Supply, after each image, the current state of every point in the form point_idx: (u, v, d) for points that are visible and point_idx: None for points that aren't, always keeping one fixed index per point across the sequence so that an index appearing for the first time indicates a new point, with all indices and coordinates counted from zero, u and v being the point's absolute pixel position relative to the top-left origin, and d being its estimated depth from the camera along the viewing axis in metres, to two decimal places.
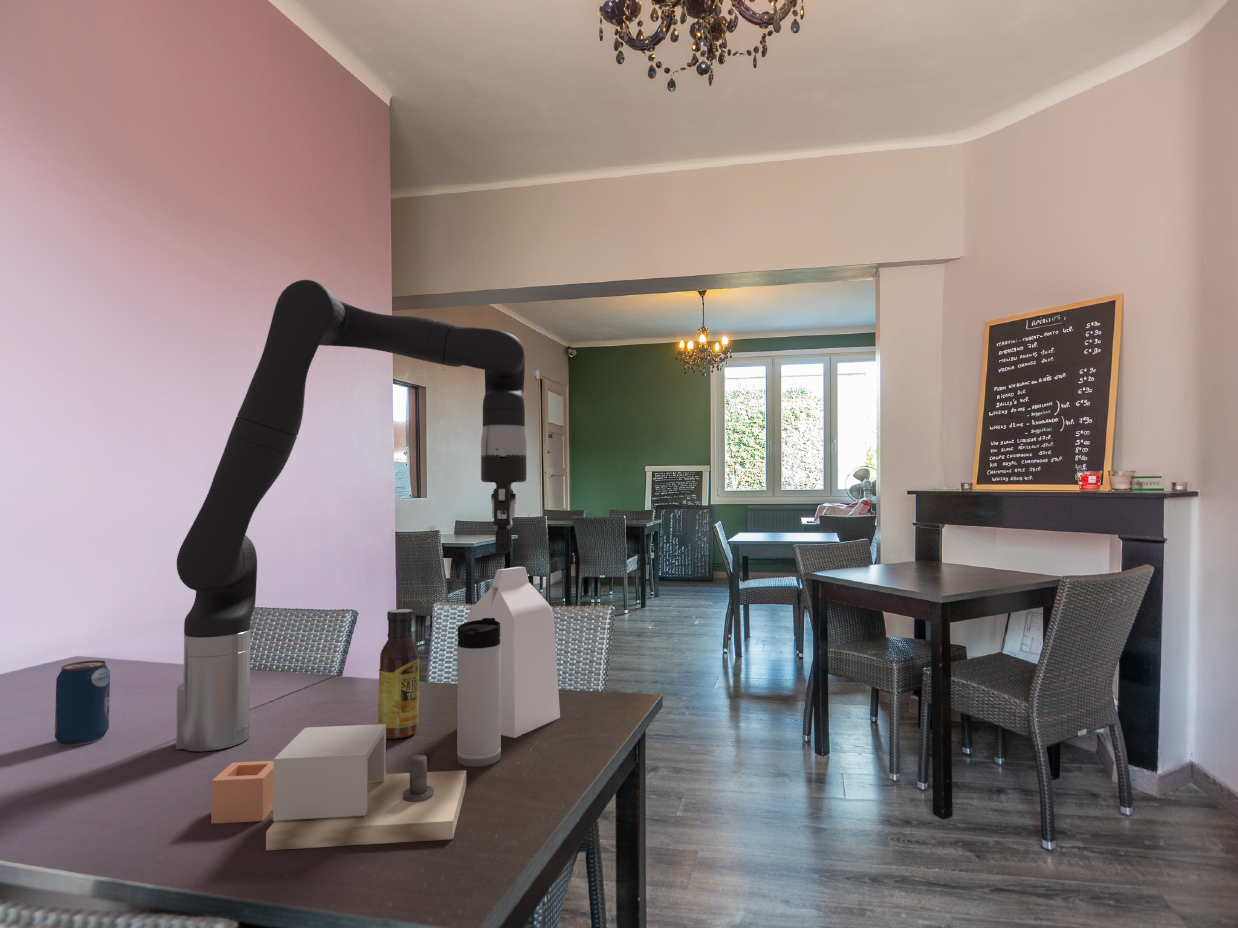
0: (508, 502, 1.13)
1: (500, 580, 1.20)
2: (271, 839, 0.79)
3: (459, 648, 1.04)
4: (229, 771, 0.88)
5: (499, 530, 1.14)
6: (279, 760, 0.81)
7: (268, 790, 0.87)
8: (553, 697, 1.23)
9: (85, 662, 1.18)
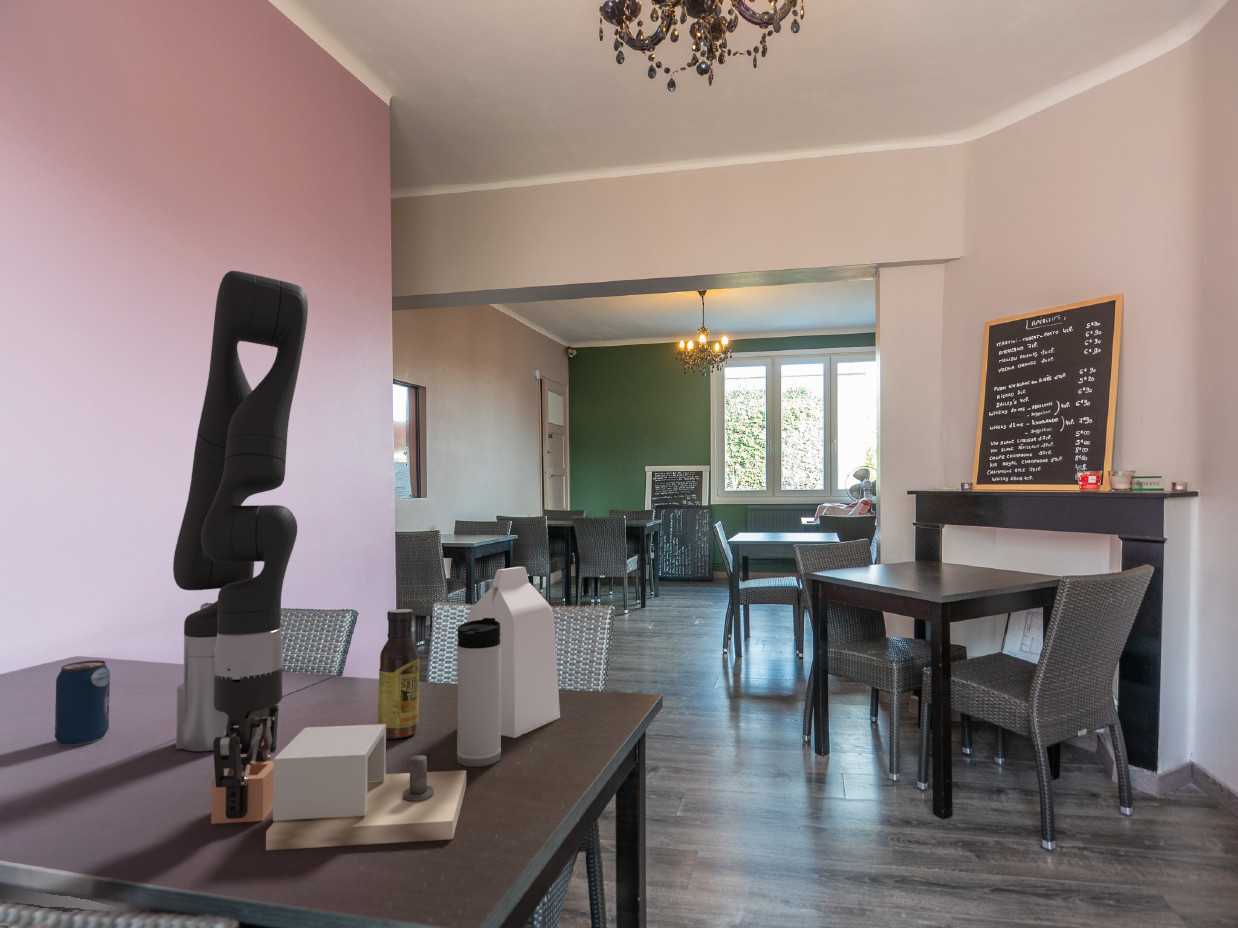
0: (235, 757, 0.82)
1: (500, 580, 1.20)
2: (271, 839, 0.79)
3: (459, 648, 1.04)
4: None
5: (229, 789, 0.84)
6: (279, 760, 0.81)
7: (268, 790, 0.87)
8: (553, 697, 1.23)
9: (85, 662, 1.18)
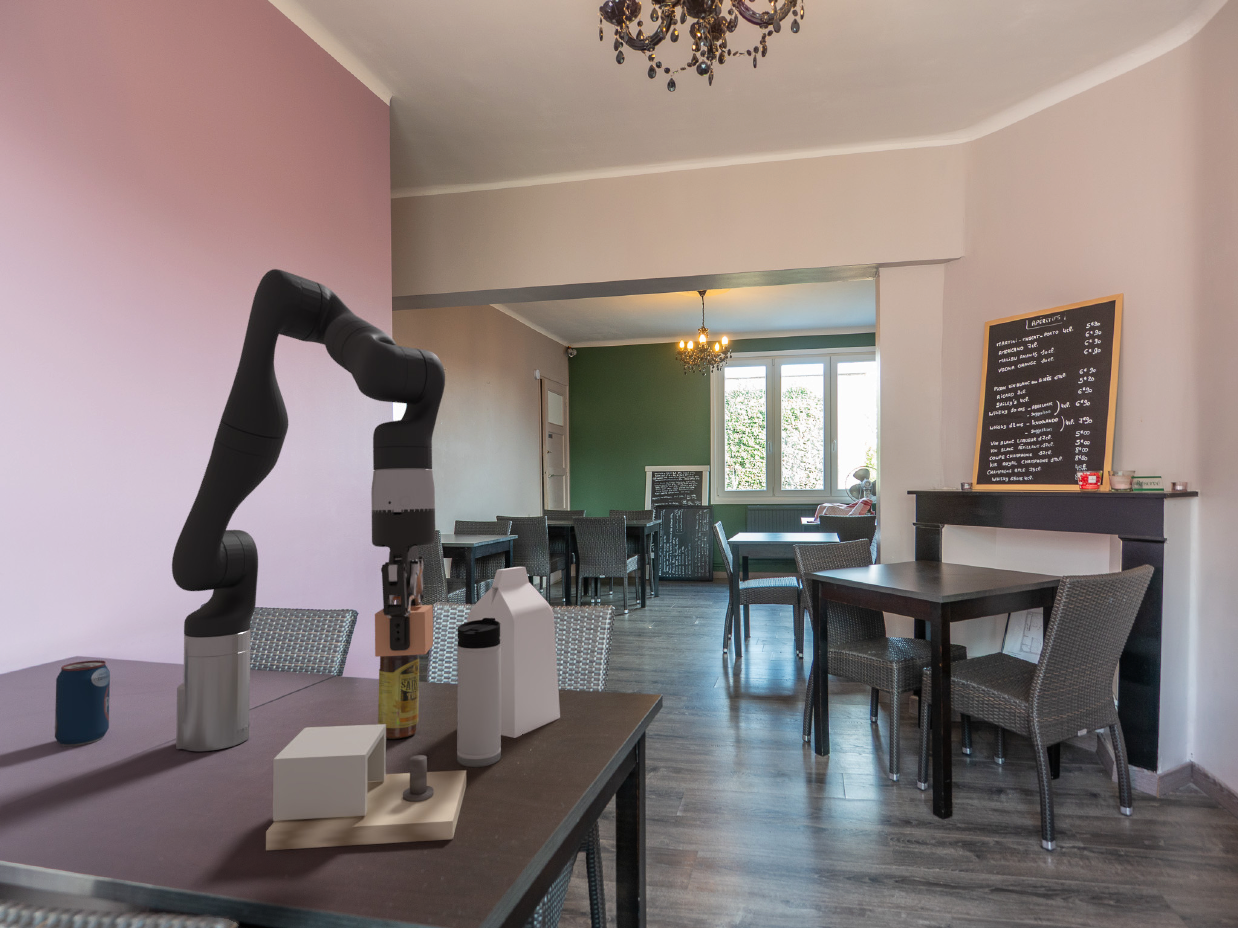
0: (402, 584, 0.82)
1: (500, 580, 1.20)
2: (271, 839, 0.79)
3: (459, 648, 1.04)
4: None
5: (393, 619, 0.84)
6: (279, 760, 0.81)
7: (427, 628, 0.87)
8: (553, 697, 1.23)
9: (85, 662, 1.18)
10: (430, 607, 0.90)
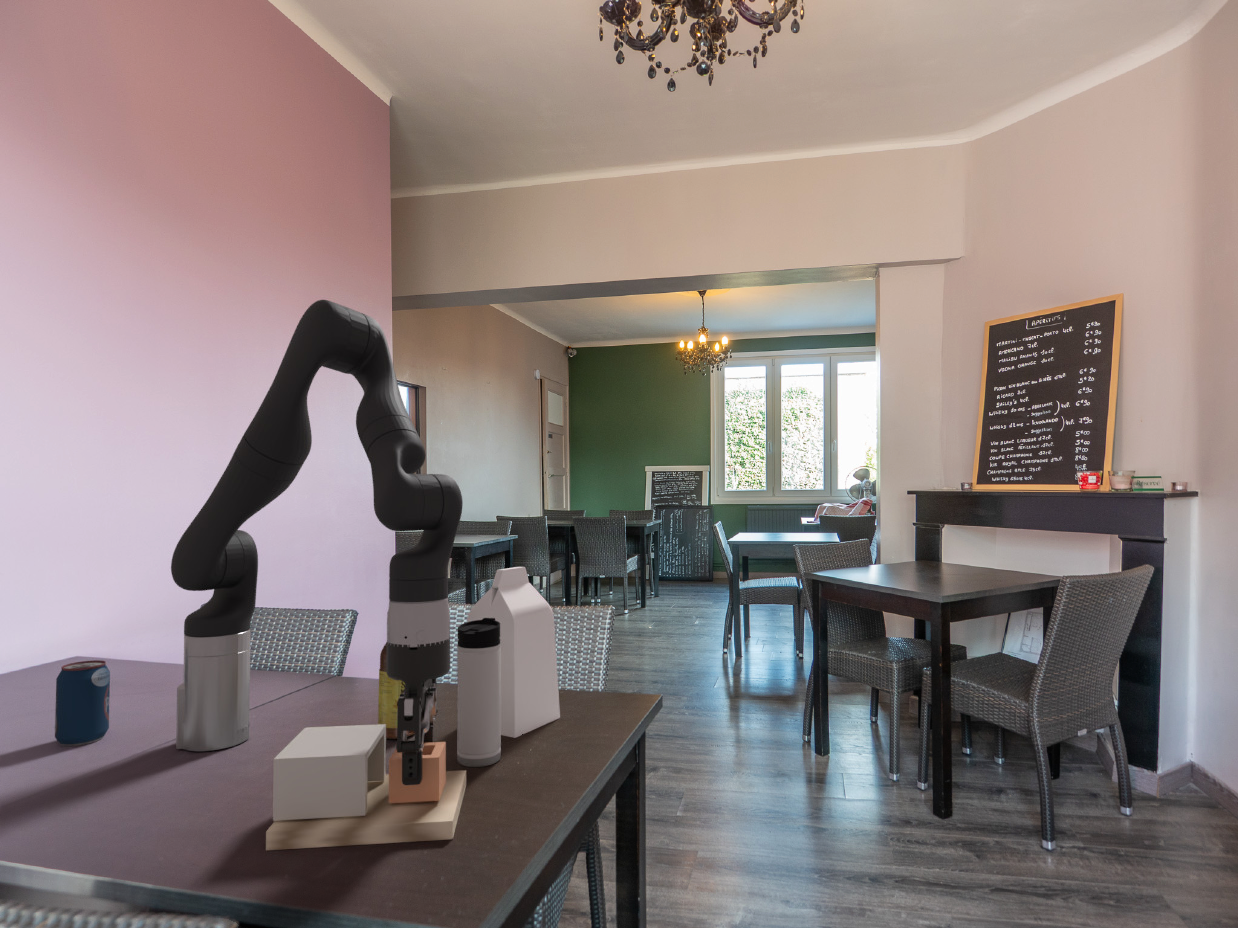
0: (417, 719, 0.81)
1: (500, 580, 1.20)
2: (271, 839, 0.79)
3: (459, 648, 1.04)
4: None
5: (406, 754, 0.83)
6: (279, 760, 0.81)
7: (441, 771, 0.87)
8: (553, 697, 1.23)
9: (85, 662, 1.18)
10: (443, 746, 0.89)
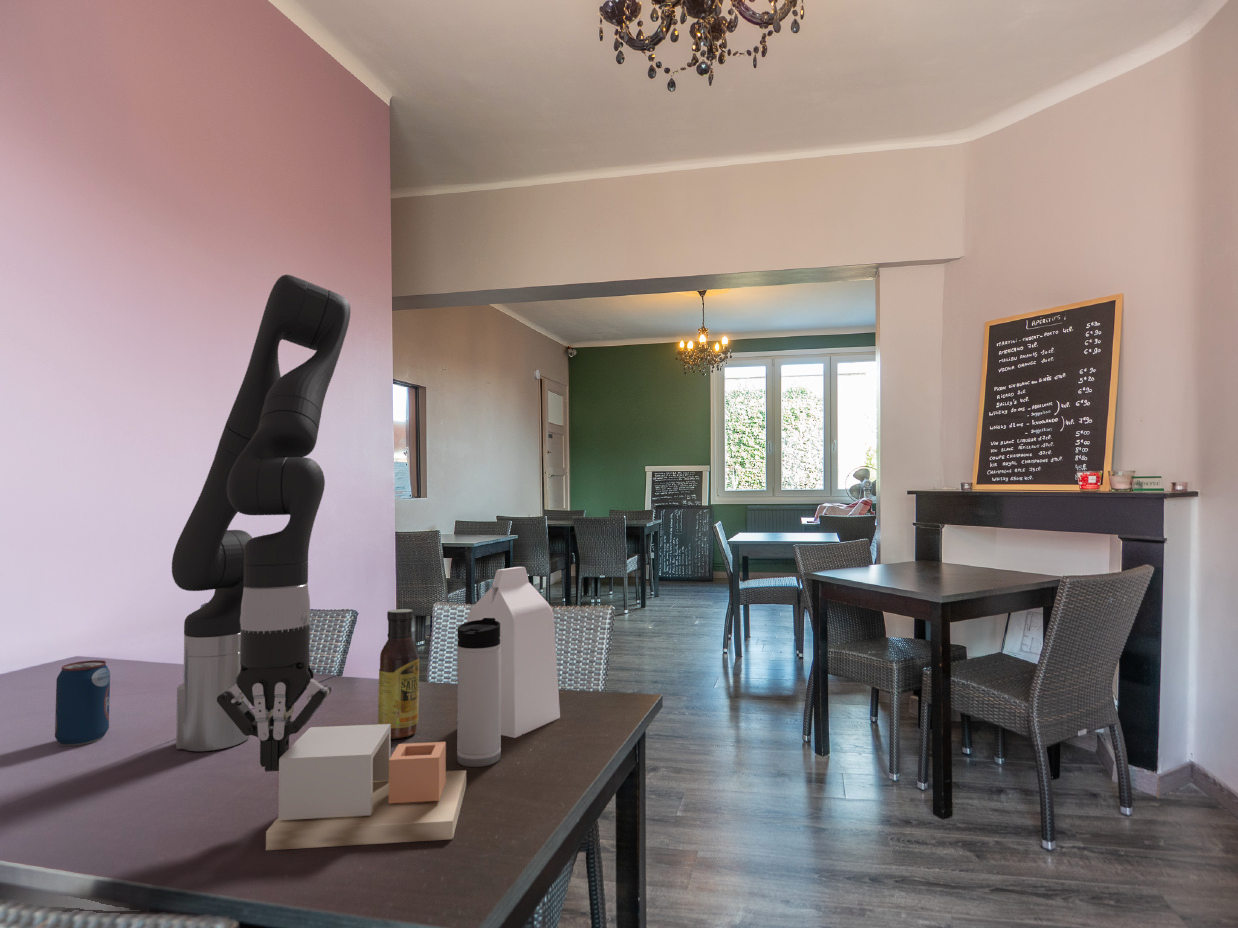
0: (227, 712, 0.84)
1: (500, 580, 1.20)
2: (271, 839, 0.79)
3: (459, 648, 1.04)
4: (401, 751, 0.88)
5: None
6: (285, 760, 0.81)
7: (441, 771, 0.87)
8: (553, 697, 1.23)
9: (85, 662, 1.18)
10: (443, 746, 0.89)
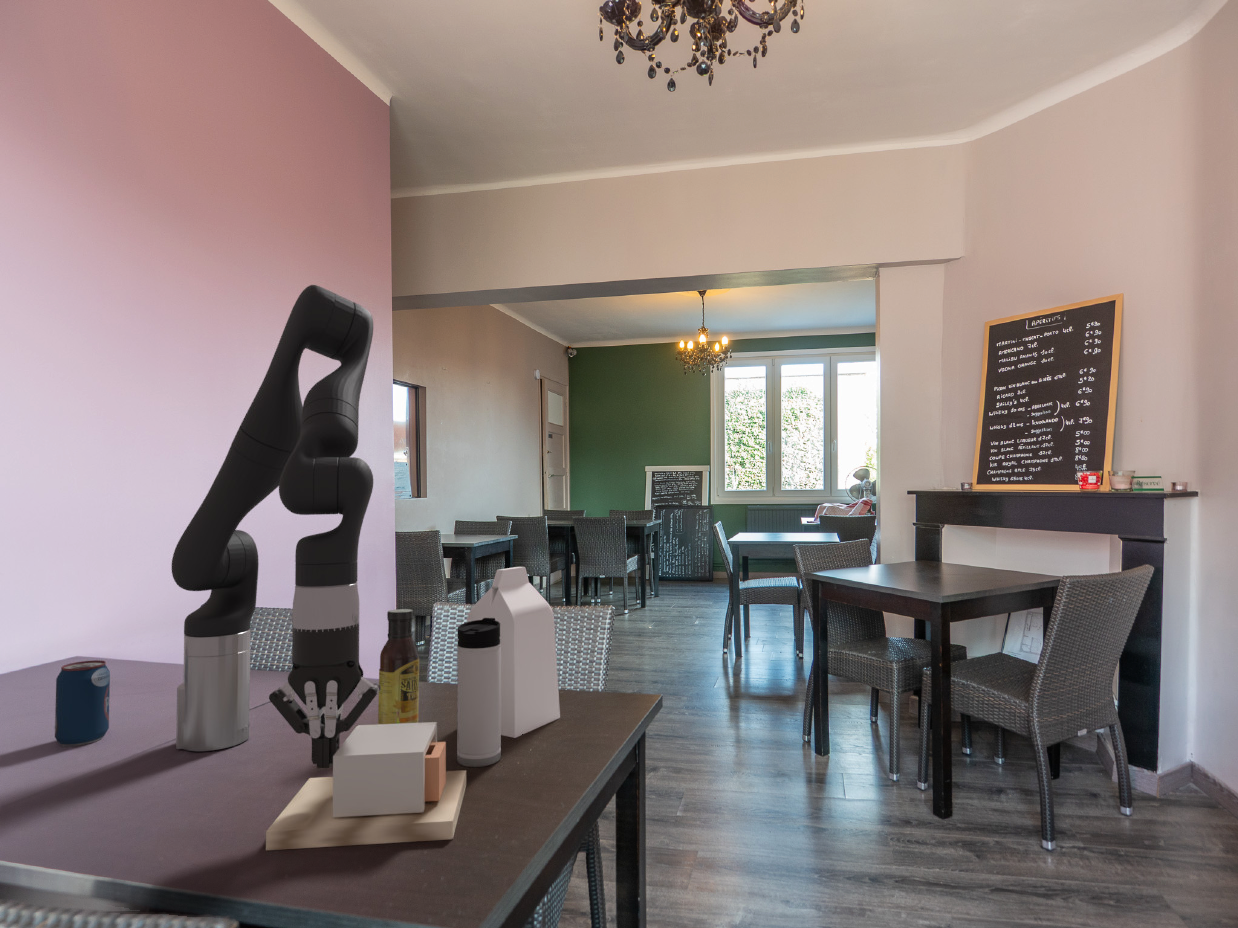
0: (279, 710, 0.85)
1: (500, 580, 1.20)
2: (271, 839, 0.79)
3: (459, 648, 1.04)
4: None
5: None
6: (338, 757, 0.82)
7: (441, 771, 0.87)
8: (553, 697, 1.23)
9: (85, 662, 1.18)
10: (443, 746, 0.89)
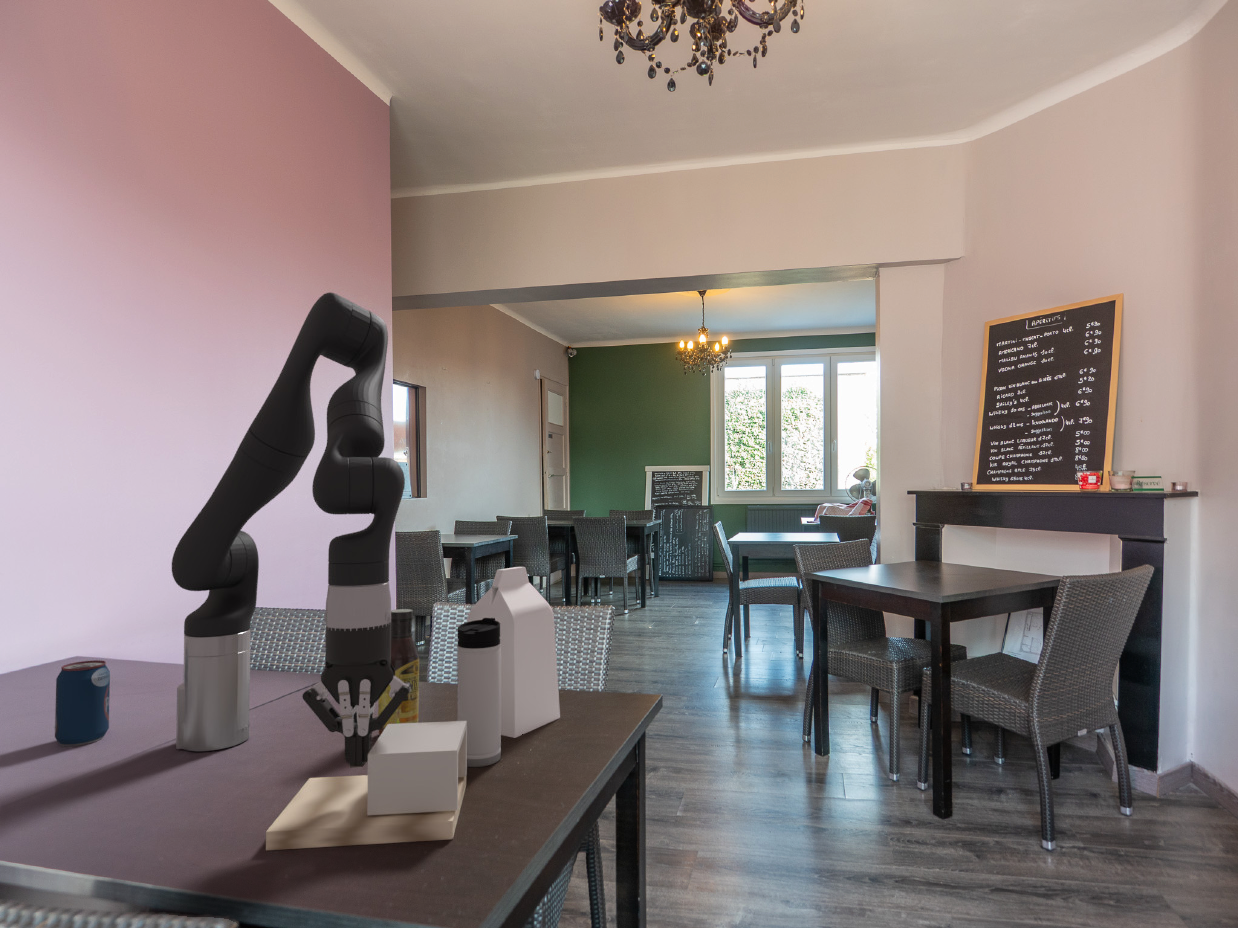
0: (313, 709, 0.86)
1: (500, 580, 1.20)
2: (271, 839, 0.79)
3: (459, 648, 1.04)
4: None
5: None
6: (373, 756, 0.82)
7: None
8: (553, 697, 1.23)
9: (85, 662, 1.18)
10: None
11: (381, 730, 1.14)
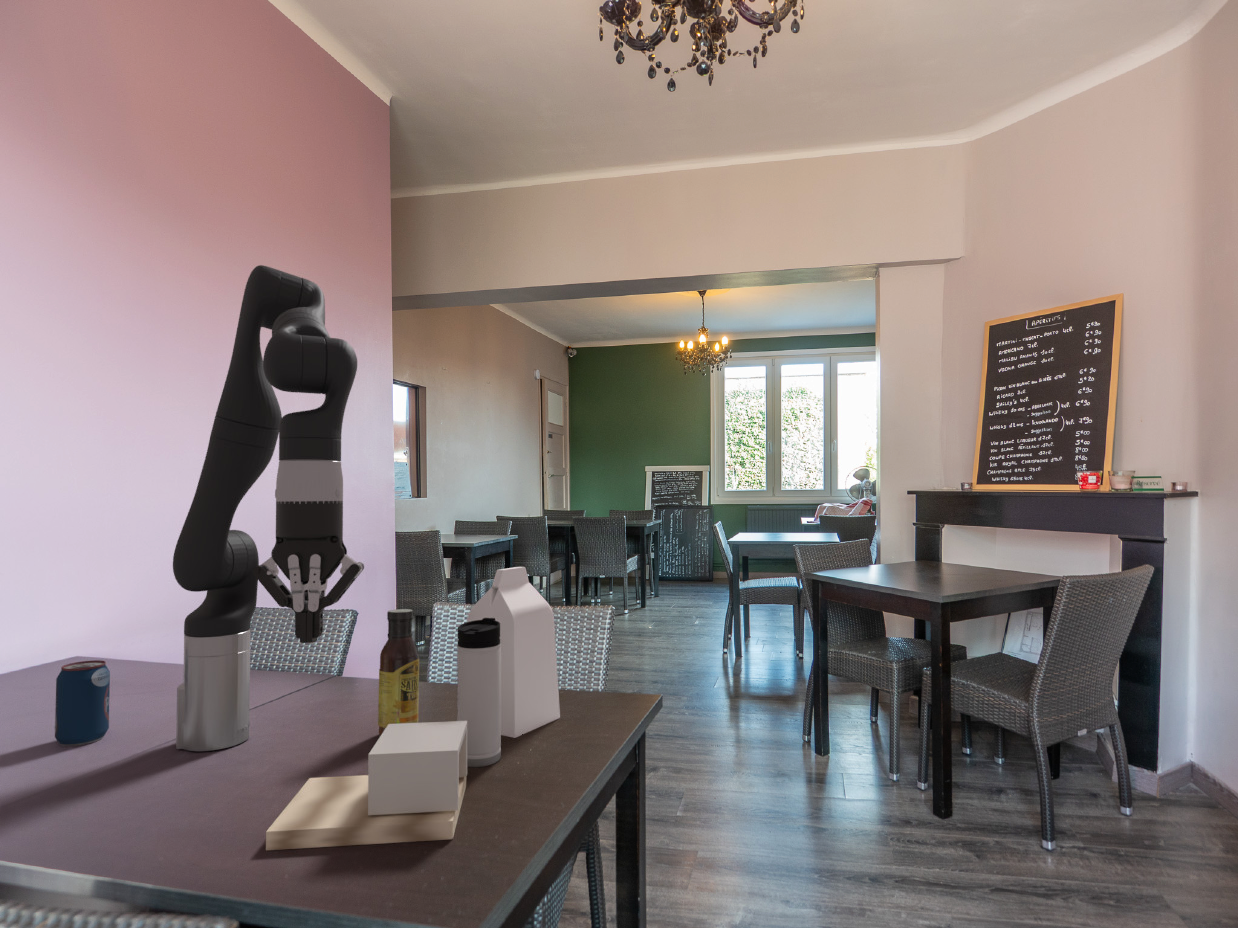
0: (263, 584, 0.86)
1: (500, 580, 1.20)
2: (271, 839, 0.79)
3: (459, 648, 1.04)
4: None
5: None
6: (374, 756, 0.82)
7: None
8: (553, 697, 1.23)
9: (85, 662, 1.18)
10: None
11: (381, 730, 1.14)
